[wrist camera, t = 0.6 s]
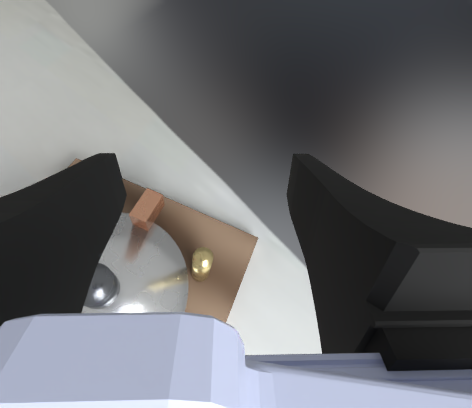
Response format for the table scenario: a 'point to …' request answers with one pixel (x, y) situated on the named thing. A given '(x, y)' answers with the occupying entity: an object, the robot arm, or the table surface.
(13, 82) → the table surface
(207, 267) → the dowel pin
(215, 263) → the base board
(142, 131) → the table surface
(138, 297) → the flange plate
